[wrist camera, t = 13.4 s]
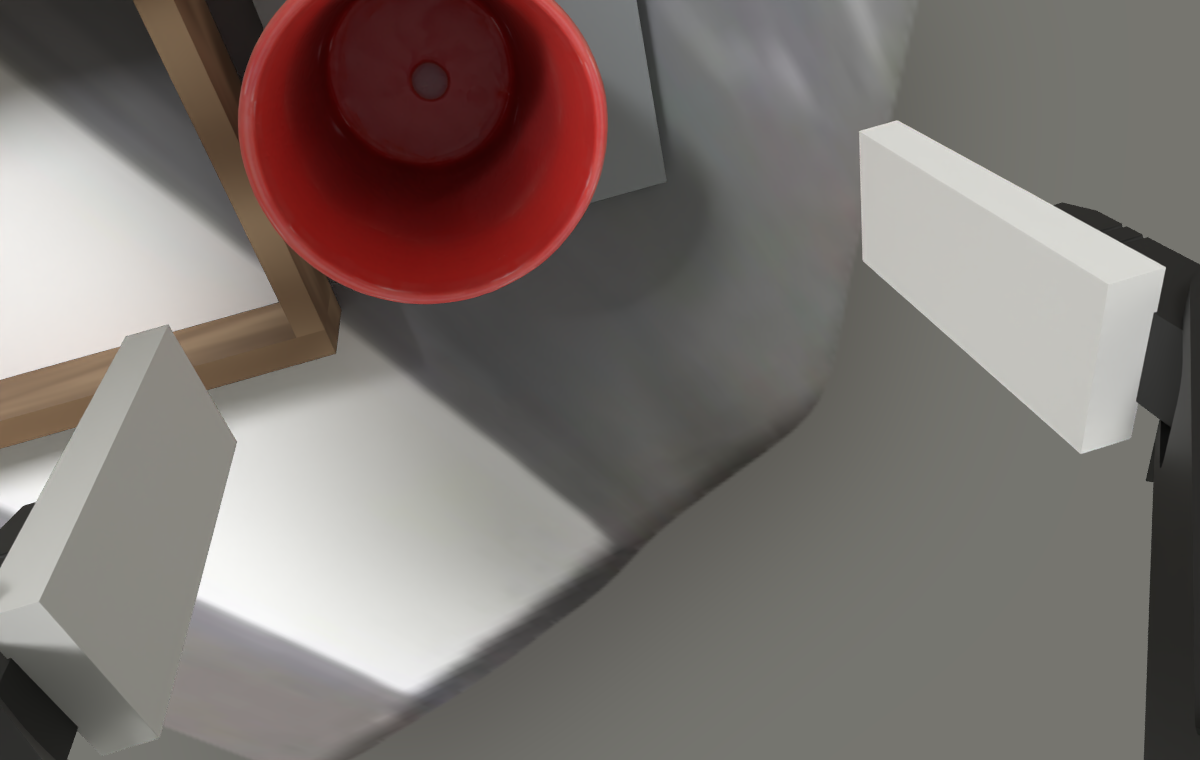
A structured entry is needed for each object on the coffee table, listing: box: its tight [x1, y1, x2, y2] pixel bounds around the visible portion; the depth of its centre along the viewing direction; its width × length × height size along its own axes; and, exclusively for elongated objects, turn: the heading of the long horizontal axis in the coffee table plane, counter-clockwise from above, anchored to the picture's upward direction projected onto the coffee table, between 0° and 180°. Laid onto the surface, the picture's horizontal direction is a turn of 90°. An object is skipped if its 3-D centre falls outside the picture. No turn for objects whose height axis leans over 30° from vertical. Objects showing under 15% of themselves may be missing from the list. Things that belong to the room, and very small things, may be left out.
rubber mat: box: [252, 0, 667, 203], centre depth 34 cm, size 14×14×1 cm
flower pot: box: [238, 0, 608, 304], centre depth 29 cm, size 11×11×10 cm
